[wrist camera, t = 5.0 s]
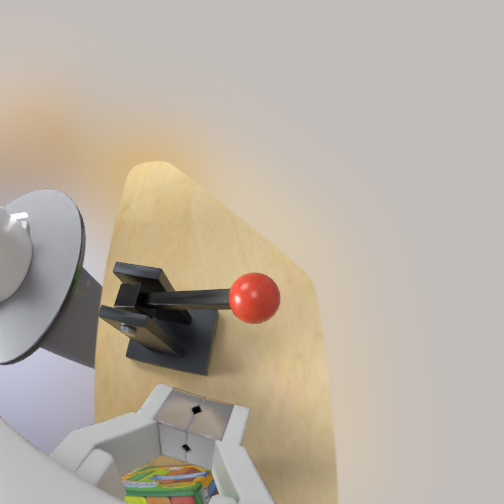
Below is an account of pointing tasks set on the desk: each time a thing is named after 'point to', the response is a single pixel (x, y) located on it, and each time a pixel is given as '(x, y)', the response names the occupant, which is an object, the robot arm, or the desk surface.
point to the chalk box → (170, 485)
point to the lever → (207, 299)
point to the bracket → (163, 326)
